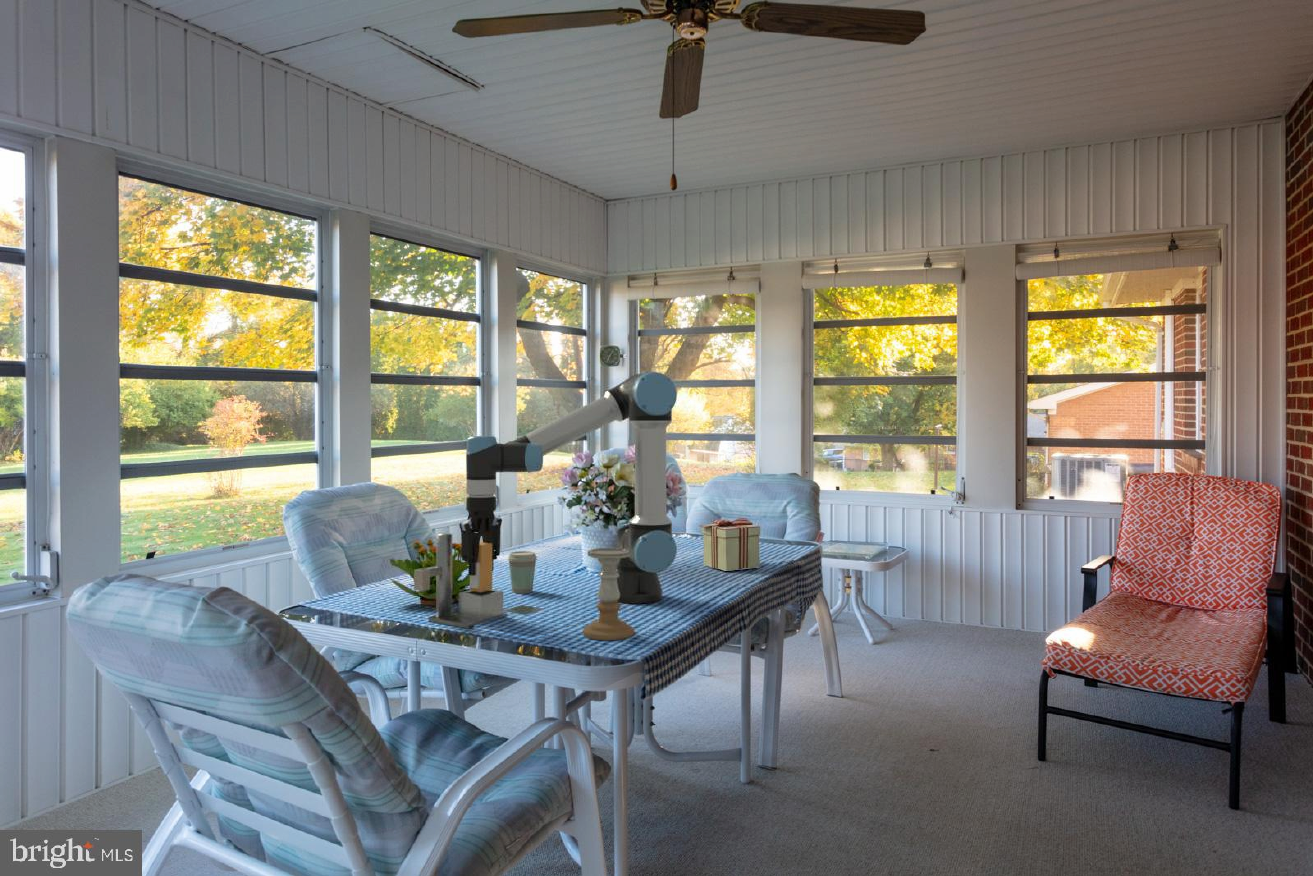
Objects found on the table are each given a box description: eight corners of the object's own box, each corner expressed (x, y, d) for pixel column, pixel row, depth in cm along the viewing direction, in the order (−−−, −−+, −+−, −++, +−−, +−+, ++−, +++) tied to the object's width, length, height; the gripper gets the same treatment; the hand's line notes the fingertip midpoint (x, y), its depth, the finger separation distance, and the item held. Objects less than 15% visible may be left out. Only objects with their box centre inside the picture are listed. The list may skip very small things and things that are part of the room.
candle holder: (580, 640, 195) (581, 555, 194) (585, 627, 207) (585, 546, 207) (633, 641, 195) (633, 555, 194) (634, 627, 207) (635, 547, 207)
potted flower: (456, 615, 219) (456, 549, 218) (373, 610, 223) (373, 545, 223) (491, 595, 243) (492, 535, 243) (416, 591, 248) (416, 533, 247)
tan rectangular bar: (492, 589, 215) (492, 543, 215) (481, 592, 212) (481, 545, 211) (480, 587, 217) (480, 542, 217) (469, 590, 214) (469, 543, 214)
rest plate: (544, 611, 224) (544, 608, 224) (525, 617, 217) (525, 614, 217) (521, 607, 228) (521, 605, 228) (502, 613, 221) (502, 610, 221)
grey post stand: (507, 617, 217) (507, 533, 216) (453, 633, 200) (453, 542, 200) (467, 610, 224) (468, 529, 223) (412, 625, 208) (412, 537, 207)
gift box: (728, 561, 305) (729, 514, 304) (762, 569, 290) (763, 519, 289) (691, 565, 295) (692, 517, 295) (725, 574, 280) (725, 523, 279)
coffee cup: (539, 590, 250) (539, 551, 250) (532, 596, 242) (532, 555, 242) (512, 590, 251) (512, 550, 251) (504, 596, 243) (504, 555, 242)
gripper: (493, 492, 223) (493, 579, 224) (446, 497, 209) (446, 590, 209) (514, 494, 219) (514, 582, 220) (468, 499, 205) (468, 593, 205)
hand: (481, 586), depth 214 cm, fingers closed on tan rectangular bar, 4 cm apart
